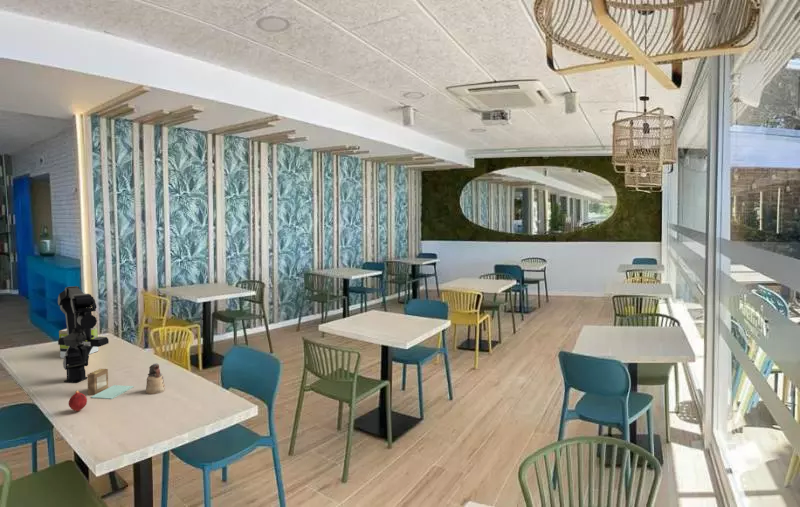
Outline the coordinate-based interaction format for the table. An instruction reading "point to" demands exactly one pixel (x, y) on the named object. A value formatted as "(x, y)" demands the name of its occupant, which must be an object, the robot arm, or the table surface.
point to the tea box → (64, 348)
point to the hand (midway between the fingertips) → (84, 360)
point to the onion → (77, 401)
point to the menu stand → (97, 381)
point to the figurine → (155, 380)
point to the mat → (112, 392)
